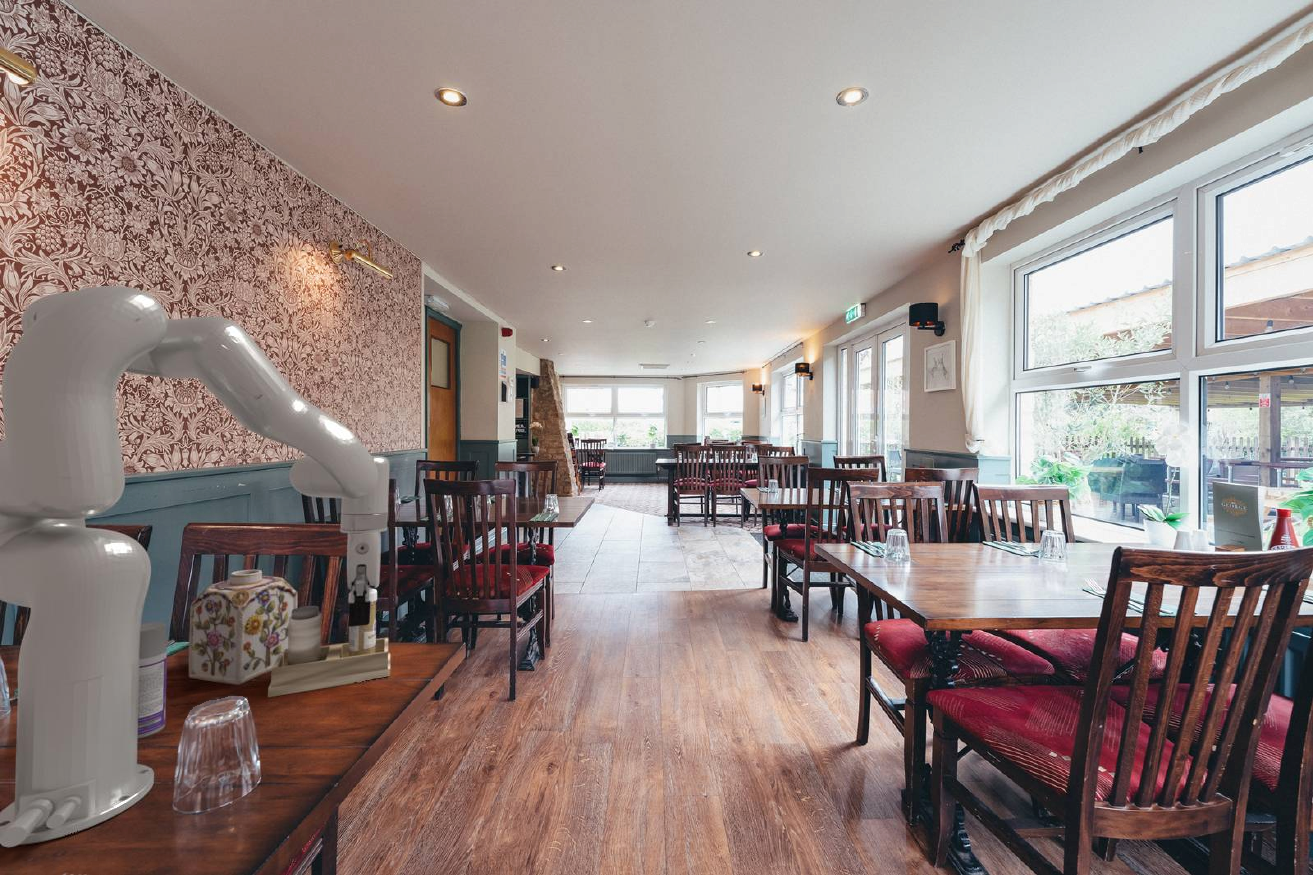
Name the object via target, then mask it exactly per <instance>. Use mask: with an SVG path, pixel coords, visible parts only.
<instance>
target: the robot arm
mask: <svg viewBox="0 0 1313 875" xmlns="http://www.w3.org/2000/svg"><path fill="white" fill-rule="evenodd" d="M21 316H22V317H21V322H20V323H21V328H22V332H23V335H22V336H21V337H20V338H19V340H18V341H17V342H16V343H15V345H14V346H13V348H12V349H11V351H10V353H9V355H8V357H7V358H6V363H5V364H4V368H3V372H2V379H1V401H2V413H3V415H2V417H3V426H4V427H3V428H4V437H5V439H3V440H0V601H2V602H5V603H8V604H11V605H15V606H19V607H25V608H30V614H29V619H28V622H27V626H26V629H25V631H24V634H23V637H22V640H21V644H20V650H19V656H18V664H17V708H16V709H17V714H16V716H17V717H16V744H15V745H16V748H15V750H16V751H15V784H14V786H15V787H14V792H15V793H14V801H13V802H11V803H10V804H8V806H6V807H5V808H3V809H2V810H1V811H0V845H1V846H2V847H6V848H13V847H16V846H20V845H27V844H28V845H29V844H36V843H41V842H46V841H51V840H55V839H58V838H62V837H65V835H66V836H68V834H69V835H71V833H72V834H75V833H78V832H80V831H84V830H86V829H89V828H91V827H93V826H95V825H98V824H101V823H102V822H105V821H107V820H109V819H112V818H114V817H115V816H117V815H119V814H121V813H122V812H124V811H125V810H127V809H129V808H131V807H132V806H133V805H135V804H136V803H137V802H139V801H140V800H142V798H144V797H145V796H146V795H147V793H149V792H150V790H151V789H152V788H153V785H154V782H155V771H154V770H153V769H152V768H151V767H149V766H147V765H145V764H139V763H138V739H137V737H138V695H139V647H140V628H141V624H142V617H143V610H144V606H145V601H146V598H147V595H148V594H147V593H148V590H149V587H150V582H151V576H152V565H151V559H150V556H149V554H148V552H147V551H146V549H145V548H144V547H143V545H141V543H139V541H137V540H136V539H134V538H132V537H131V536H129V535H127V534H124V533H122V532H119V531H115V530H110V529H105V528H95V527H86V526H87V525H86V520H85V519H86V518H90V517H94V516H97V515H99V514H102V513H104V512H106V511H108V510H110V509H111V508H112V507H114V506H115V505H116V503H117V502H118V501H119V500H120V499H121V498H122V495H123V493H124V491H125V490H124V489H125V486H126V485H125V484H126V478H125V468H124V462H123V456H122V449H121V442H120V433H119V428H118V421H117V409H116V395H117V394H116V393H117V388H118V384H119V382H120V379H121V377H122V376H123V374H124V373H127V374H128V373H129V374H136V375H140V376H141V375H142V376H147V377H148V376H149V377H156V378H164V379H165V378H166V379H175V380H182V379H184V380H185V379H186V380H187V379H197V380H199V381H200V382H201V384H203V386H204V387H205V388H207V391H209V392H210V393H211V394H212V395H213V397H215V398H216V399H217V400H218V401H219V402H220V403H221V404H222V405H223V406H224V407H225V408H226V409H227V411H228V412H229V413H230V414H231V415H232V416H233V417H234V418H235V419H236V420H237V421H238V423H239V424H241V425H242V427H244V429H246V430H247V431H249V432H251V433H255V434H256V435H258V436H261V437H263V438H265V439H268V440H270V441H274V442H277V443H279V444H280V443H281V444H283V445H286V446H288V447H291V448H294V449H296V450H298V451H299V452H300V453H301V452H302V453H303V454H305V456H303V457H300V458H299V459H297V460H296V461H295V462H294V463H293V465H292V466H291V468H290V470H289V482H290V484H291V486H292V488H294V490H296V491H297V492H299V493H300V494H302V495H304V496H307V497H311V498H312V497H313V498H325V499H331V498H332V499H341V509H340V529H339V532H340V533H341V534H347V547H346V551H347V552H346V578H347V579H346V581H347V588H348V589H349V590H350V591H352V593H351V603H349V602H348V608H349V609H348V627H349V626H350V627H352V626H362V625H368V624H369V623H370V603H371V601H369V591H370V588H371V589H373V588H372V587H374V589H376V588H378V587H379V585H380V574H381V553H382V534H381V532H386V531H388V517H389V516H388V514H389V493H390V492H389V490H390V489H389V488H390V487H389V485H390V461H389V459H388V458H387V457H386V456H383V455H371V453H370V452H369V451H368V450H367V448H366V447H365V446H364V444H363V443H362V442H361V440H360V439H359V438H358V437H357V435H355V433H353V431H351V430H350V429H349V428H348V427H347V426H345V425H344V424H343V423H341V422H340V421H338V420H337V419H336V418H334V417H332V416H331V415H329V414H328V413H327V412H325V411H323V410H322V409H320V408H319V407H318V406H316V405H315V404H313V403H311V402H310V401H307V400H306V399H304V398H303V397H302V396H301V395H299V393H298V392H297V391H296V390H295V389H294V388H293V387H292V385H291V384H290V383H289V381H288V380H287V379H286V378H285V376H283V374H282V373H281V372H280V371H279V369H277V367H276V366H275V365H274V363H273V362H272V361H271V360H270V358H269V357H268V356H267V355H266V354H265V353H264V352H263V350H262V349H261V348H260V346H258V344H257V343H256V342H255V340H254V339H253V338H252V337H251V336H250V334H249V333H248V332H247V331H246V329H244V327H242V326H241V325H239V324H238V323H237V322H236V321H234V320H232V319H228V318H226V317H221V316H206V315H205V316H194V317H186V318H175V319H174V318H168V317H167V313H166V311H165V309H164V307H163V306H162V304H161V303H160V302H159V300H157V299H156V298H155V297H154V296H152V295H151V294H150V293H148V292H146V291H144V290H141V289H138V288H134V287H131V286H121V285H103V286H94V287H88V288H86V287H85V288H82V289H81V288H80V289H78V290H77V289H76V290H71V291H65V292H57V293H52V294H49V295H45V296H43V297H40V298H38V299H36V300H35V301H33V302H32V303H30V304H29V305H28V306H27V307H26V308H25V309H24V311H23V313H22V315H21ZM365 600H366V601H365ZM77 831H78V832H77ZM74 832H75V833H74Z"/></svg>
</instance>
